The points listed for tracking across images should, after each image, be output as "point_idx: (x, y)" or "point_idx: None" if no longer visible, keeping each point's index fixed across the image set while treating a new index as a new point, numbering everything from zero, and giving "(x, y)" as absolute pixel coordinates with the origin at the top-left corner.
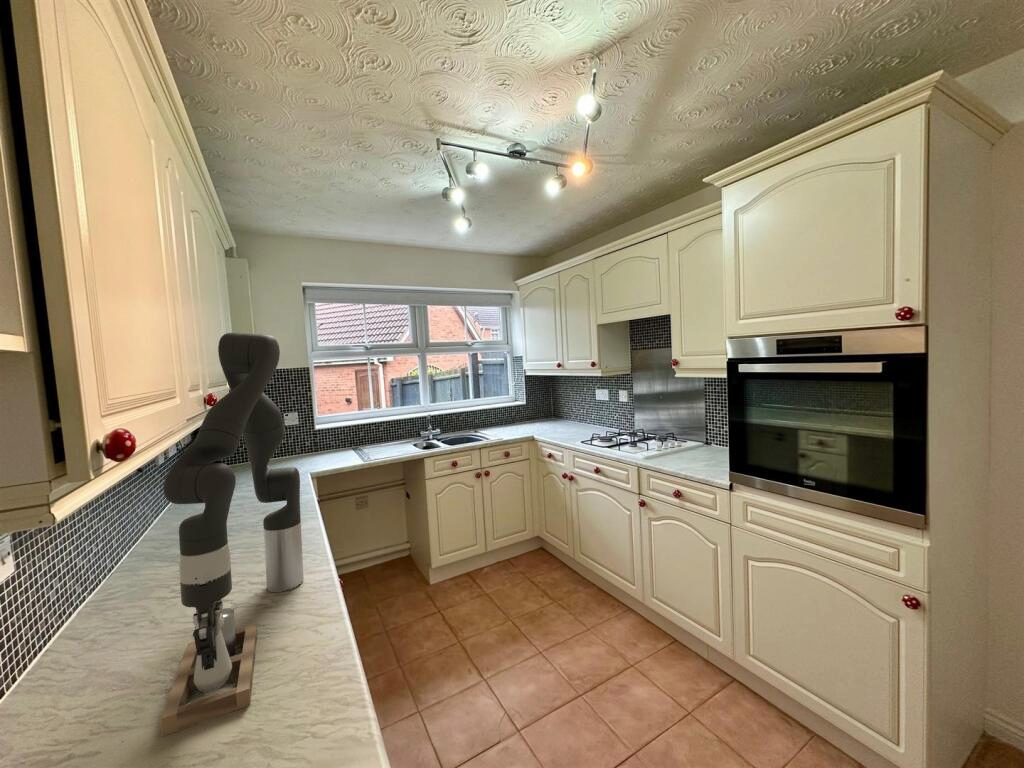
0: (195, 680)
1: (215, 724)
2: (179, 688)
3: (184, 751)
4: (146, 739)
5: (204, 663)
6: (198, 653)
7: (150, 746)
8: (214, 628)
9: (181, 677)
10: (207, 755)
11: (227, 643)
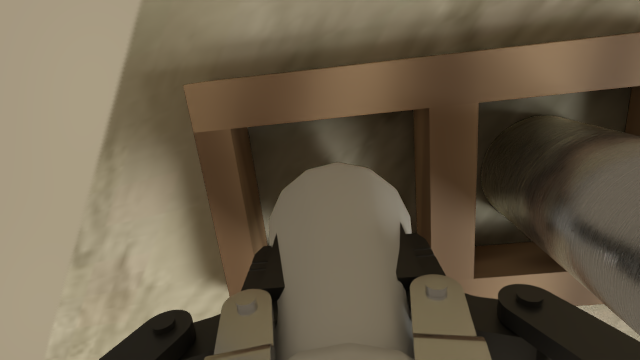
0: (295, 183)
1: (203, 221)
2: (351, 97)
3: (123, 166)
4: (212, 32)
5: (250, 271)
6: (136, 338)
7: (174, 58)
8: None
9: (431, 81)
10: (92, 227)
11: (540, 247)
